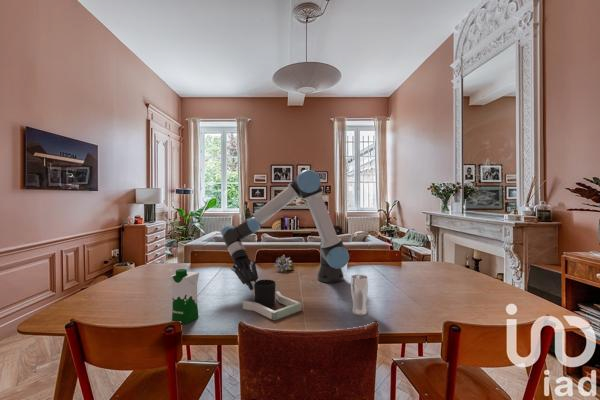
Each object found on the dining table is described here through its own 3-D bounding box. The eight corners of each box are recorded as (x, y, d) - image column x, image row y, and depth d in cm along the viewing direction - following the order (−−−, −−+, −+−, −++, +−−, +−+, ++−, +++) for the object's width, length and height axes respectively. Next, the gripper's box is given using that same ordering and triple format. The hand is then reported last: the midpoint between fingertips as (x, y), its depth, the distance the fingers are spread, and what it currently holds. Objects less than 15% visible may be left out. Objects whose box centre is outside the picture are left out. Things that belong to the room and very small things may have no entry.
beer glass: (349, 309, 124) (348, 274, 124) (365, 309, 125) (365, 274, 125) (353, 316, 117) (353, 279, 117) (370, 315, 118) (370, 278, 118)
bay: (241, 308, 126) (241, 301, 126) (277, 297, 140) (277, 291, 140) (268, 322, 112) (268, 314, 112) (305, 308, 126) (305, 301, 126)
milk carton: (168, 322, 112) (167, 270, 112) (184, 313, 121) (184, 265, 121) (186, 325, 110) (186, 272, 109) (202, 316, 118) (201, 267, 118)
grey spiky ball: (282, 280, 187) (271, 265, 185) (283, 272, 198) (272, 258, 196) (296, 270, 186) (285, 256, 184) (296, 263, 197) (286, 249, 195)
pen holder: (279, 304, 131) (279, 282, 130) (263, 310, 124) (263, 287, 124) (266, 299, 137) (265, 278, 137) (249, 305, 130) (249, 282, 130)
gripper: (246, 255, 151) (265, 296, 139) (223, 259, 142) (241, 302, 131) (252, 246, 147) (272, 287, 135) (228, 250, 138) (248, 294, 127)
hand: (257, 295), depth 133 cm, fingers closed
